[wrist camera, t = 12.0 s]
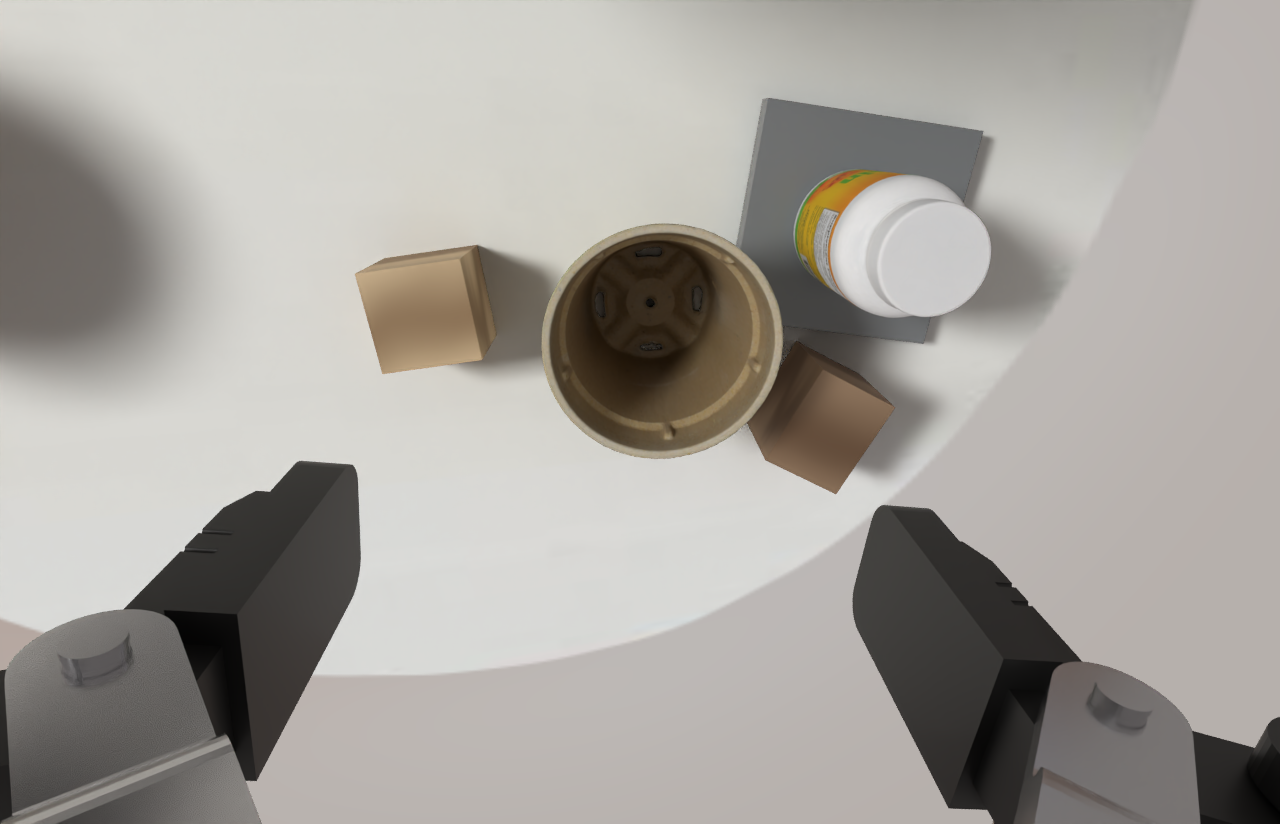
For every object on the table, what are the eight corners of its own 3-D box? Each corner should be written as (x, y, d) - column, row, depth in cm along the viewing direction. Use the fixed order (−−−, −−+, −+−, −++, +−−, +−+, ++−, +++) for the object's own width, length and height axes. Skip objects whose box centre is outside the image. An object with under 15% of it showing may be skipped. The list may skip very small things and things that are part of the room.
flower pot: (773, 342, 37) (819, 398, 29) (609, 420, 38) (610, 495, 30) (696, 168, 34) (725, 177, 26) (521, 259, 35) (495, 295, 27)
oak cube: (385, 257, 35) (354, 274, 30) (477, 244, 35) (459, 259, 30) (408, 347, 36) (382, 374, 32) (496, 334, 36) (482, 359, 32)
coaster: (762, 99, 33) (768, 97, 32) (970, 131, 34) (983, 131, 32) (724, 313, 36) (727, 318, 35) (913, 337, 37) (923, 343, 36)
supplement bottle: (913, 170, 33) (1029, 181, 24) (894, 287, 35) (995, 339, 26) (797, 166, 33) (870, 175, 24) (785, 284, 35) (847, 335, 25)
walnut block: (795, 340, 37) (823, 369, 32) (859, 374, 38) (895, 407, 33) (746, 421, 38) (765, 460, 34) (808, 452, 39) (835, 494, 35)
